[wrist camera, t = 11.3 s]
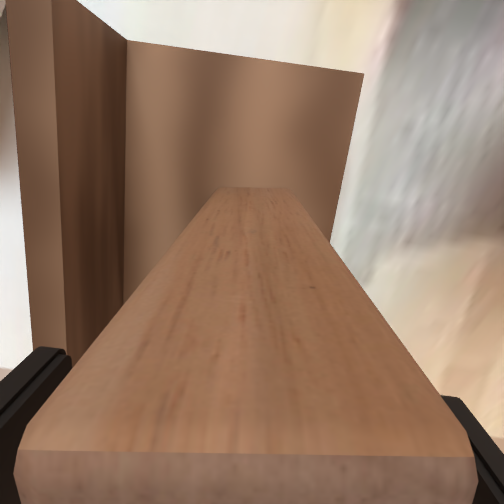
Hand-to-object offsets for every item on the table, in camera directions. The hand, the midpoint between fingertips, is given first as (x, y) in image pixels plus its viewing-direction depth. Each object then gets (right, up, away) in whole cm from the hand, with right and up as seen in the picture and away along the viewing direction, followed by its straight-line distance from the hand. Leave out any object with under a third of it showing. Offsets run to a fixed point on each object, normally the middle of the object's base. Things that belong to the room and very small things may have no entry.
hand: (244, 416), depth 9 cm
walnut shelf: (-2, +6, +17) cm, 18 cm away
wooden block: (0, +4, +13) cm, 13 cm away
